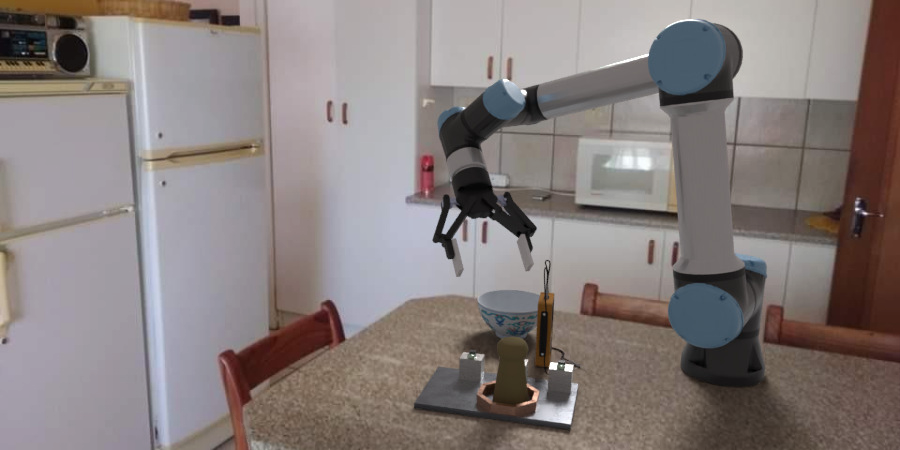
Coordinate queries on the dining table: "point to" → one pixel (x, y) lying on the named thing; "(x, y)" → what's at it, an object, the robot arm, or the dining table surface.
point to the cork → (511, 372)
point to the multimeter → (546, 327)
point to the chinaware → (509, 312)
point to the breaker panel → (475, 391)
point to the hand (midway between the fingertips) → (495, 270)
